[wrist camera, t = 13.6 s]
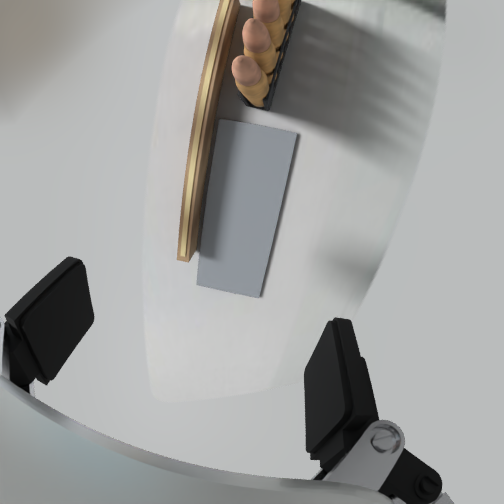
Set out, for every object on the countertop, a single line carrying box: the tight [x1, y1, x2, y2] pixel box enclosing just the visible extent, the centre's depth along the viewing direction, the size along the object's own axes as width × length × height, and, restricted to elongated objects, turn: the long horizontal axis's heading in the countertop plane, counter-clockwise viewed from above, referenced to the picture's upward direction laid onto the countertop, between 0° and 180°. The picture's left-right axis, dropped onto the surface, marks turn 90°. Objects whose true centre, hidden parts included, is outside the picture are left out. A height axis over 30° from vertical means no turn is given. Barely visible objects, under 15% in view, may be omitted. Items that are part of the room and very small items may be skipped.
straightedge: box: [177, 0, 240, 262], centre depth 19 cm, size 22×1×3 cm, turn 169°
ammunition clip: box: [232, 0, 301, 111], centre depth 11 cm, size 11×2×12 cm, turn 166°
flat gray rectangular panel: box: [196, 119, 297, 298], centre depth 23 cm, size 15×6×1 cm, turn 169°
